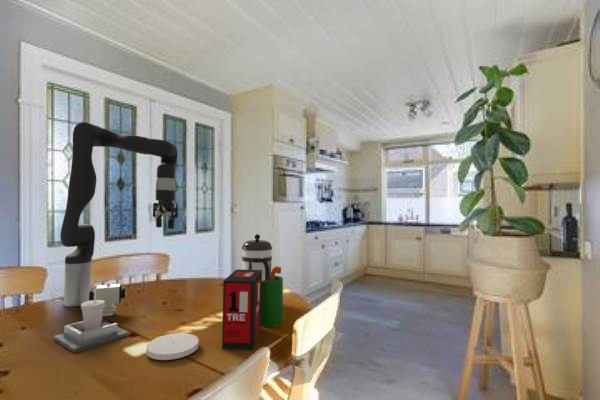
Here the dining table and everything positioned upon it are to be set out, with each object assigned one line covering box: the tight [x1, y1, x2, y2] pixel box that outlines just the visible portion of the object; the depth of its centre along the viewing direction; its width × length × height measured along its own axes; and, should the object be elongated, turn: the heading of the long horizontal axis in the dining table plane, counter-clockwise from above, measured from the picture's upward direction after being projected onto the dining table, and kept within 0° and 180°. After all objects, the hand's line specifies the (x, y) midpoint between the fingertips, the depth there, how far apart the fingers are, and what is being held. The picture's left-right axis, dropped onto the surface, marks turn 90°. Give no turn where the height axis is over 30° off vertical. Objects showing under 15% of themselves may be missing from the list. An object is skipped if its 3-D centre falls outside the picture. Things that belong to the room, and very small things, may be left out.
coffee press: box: [241, 233, 273, 281], centre depth 133 cm, size 17×16×30 cm
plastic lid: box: [145, 332, 200, 361], centre depth 93 cm, size 14×14×2 cm
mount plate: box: [53, 317, 129, 354], centre depth 100 cm, size 15×15×4 cm
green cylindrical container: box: [261, 266, 284, 328], centre depth 117 cm, size 10×9×20 cm
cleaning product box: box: [221, 269, 262, 351], centre depth 102 cm, size 16×9×20 cm, turn 178°
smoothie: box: [80, 287, 105, 331], centre depth 101 cm, size 6×6×14 cm
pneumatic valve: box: [89, 282, 127, 318], centre depth 121 cm, size 6×12×12 cm, turn 115°
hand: (164, 228), depth 134 cm, fingers open, 8 cm apart
